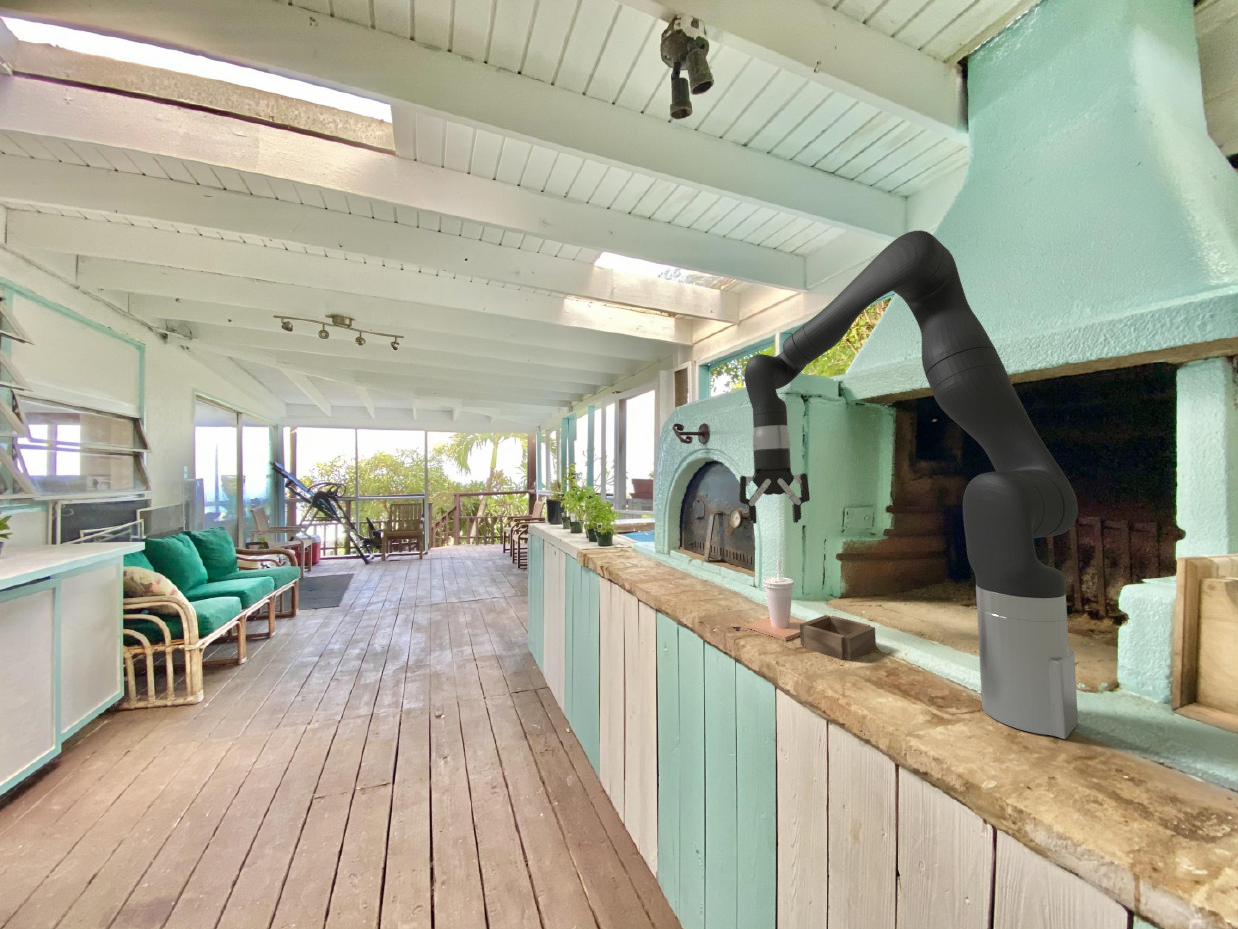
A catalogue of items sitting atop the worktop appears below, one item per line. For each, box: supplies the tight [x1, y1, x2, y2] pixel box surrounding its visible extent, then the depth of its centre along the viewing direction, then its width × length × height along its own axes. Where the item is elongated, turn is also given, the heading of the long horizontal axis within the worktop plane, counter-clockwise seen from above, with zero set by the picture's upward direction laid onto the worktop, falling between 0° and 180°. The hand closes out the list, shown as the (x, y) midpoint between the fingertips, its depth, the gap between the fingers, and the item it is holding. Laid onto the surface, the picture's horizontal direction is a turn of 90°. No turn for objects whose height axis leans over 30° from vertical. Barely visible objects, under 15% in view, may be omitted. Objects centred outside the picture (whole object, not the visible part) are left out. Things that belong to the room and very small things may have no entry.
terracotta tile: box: [745, 616, 803, 642], centre depth 99 cm, size 10×10×1 cm
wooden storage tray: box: [799, 614, 877, 662], centre depth 89 cm, size 10×10×4 cm
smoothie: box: [762, 559, 795, 628], centre depth 99 cm, size 6×6×14 cm
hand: (774, 522), depth 100 cm, fingers open, 8 cm apart
